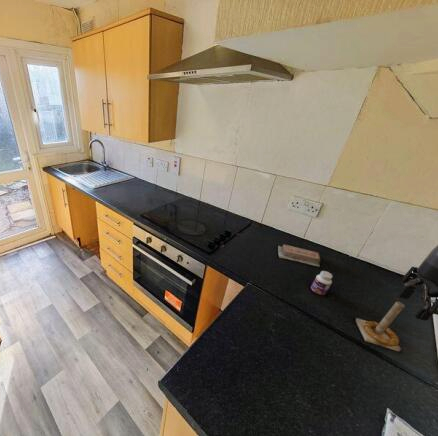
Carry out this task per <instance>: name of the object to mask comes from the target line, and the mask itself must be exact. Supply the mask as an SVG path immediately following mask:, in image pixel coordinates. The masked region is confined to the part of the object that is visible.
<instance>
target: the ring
mask: <svg viewBox="0 0 438 436" xmlns="http://www.w3.org/2000/svg"><path fill="white" fill-rule="evenodd" d="M379 323H380V322H376V321H374V320H371V321H369V322H365V324H364V329H365V331H366V332H367V333H368V334H369V335H370V336H371V337H372V338H373V339H375V340H376V341H378V342H380V343H381V344H384V345H388V346H397V345H399V344H400V338H399V337H398V335H397V333H395V332H394V331H393V330H392V329H391V328H390V327H389V326H388V327H387V328H386V330H385V331H384V332H386V333H387V334H388V335H389V336H390V338H391V340H387V339H384V338H382V337H380V336H378V335H377V334H376V333H375V332H373V331H372V329H371V327H377V326H378V324H379Z"/></svg>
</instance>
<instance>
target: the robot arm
mask: <svg viewBox="0 0 438 436" xmlns="http://www.w3.org/2000/svg"><path fill="white" fill-rule="evenodd" d="M401 282H402V283H403V288H402V289H401V290H400V292H399V293H398V297H399V298H401V299H404V300H409V299H410V298H411V296H412V295H413V294H414V293H415V292H416V290H417V291H418V292H419V294H421V297H420V298H421V301H423V303H422V306H421V307H420V308H419V310H418V311H417V312H416V313H415V315H414V317H415V318H416V319H418V320H421V321H428V320H429V319H430V318H431V317H432V316H433V315H437V316H438V244H437V245H436V246H435V247H434V248H433V249H431V251H430V252H429V253H428V255H427V256H426V257H425V258H424V259H423V261H422V262H421V264H420V265H419V266H411V267H410V268H409V269H408V271H407V272H406V273H405V274H404V275H403V276H402V278H401ZM430 298H431V299H430ZM433 298H435V299H433ZM430 303H431V304H432V305H431V306H430Z"/></svg>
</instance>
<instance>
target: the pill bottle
mask: <svg viewBox="0 0 438 436" xmlns="http://www.w3.org/2000/svg"><path fill="white" fill-rule="evenodd" d="M333 278H334V277H333V274H332V273H330V272H329V271H326V270H321V271H320V273H319V274H317V275H315V278H314V280H313V282H312V284H311V285H310V290H312V292H314V293H315V294H318V295H320V296H325V295H326V294H327V293H328V291H329V289H330V287H331V285H332V283H333V280H332V279H333Z"/></svg>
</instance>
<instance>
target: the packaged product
mask: <svg viewBox="0 0 438 436" xmlns="http://www.w3.org/2000/svg"><path fill="white" fill-rule="evenodd" d="M277 253H278V258H280V259H285V260H289V261H293V262H299V263H303V264H305V265H310V266H314V267H318V268H320V267H321V266H320V263H321V257H320V254H319V252H317V251H313V250H309V249H307V248H306V249H305V248H301V247H298V246H297V247H296V246H292V245H290V244H289V245H288V244H282V246H280V245H278V247H277Z"/></svg>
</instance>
